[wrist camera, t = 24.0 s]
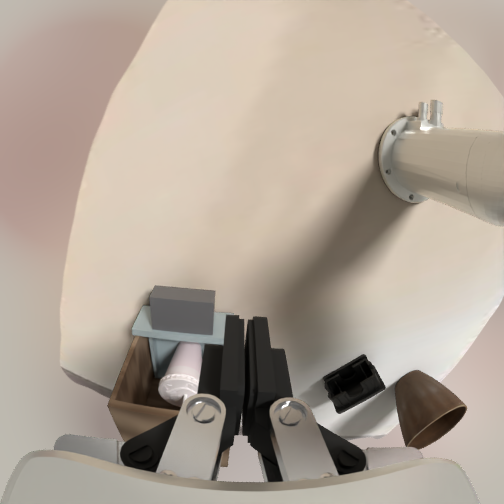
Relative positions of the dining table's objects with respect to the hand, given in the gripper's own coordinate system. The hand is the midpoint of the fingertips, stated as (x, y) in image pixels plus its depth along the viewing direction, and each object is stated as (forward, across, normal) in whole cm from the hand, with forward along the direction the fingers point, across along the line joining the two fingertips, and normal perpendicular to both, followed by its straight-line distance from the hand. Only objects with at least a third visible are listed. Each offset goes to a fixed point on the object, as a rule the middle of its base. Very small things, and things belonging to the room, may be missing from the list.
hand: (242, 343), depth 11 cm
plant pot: (+26, -41, +35) cm, 60 cm away
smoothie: (+24, +6, +22) cm, 33 cm away
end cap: (+26, -23, +30) cm, 46 cm away
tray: (+24, +7, +19) cm, 32 cm away
